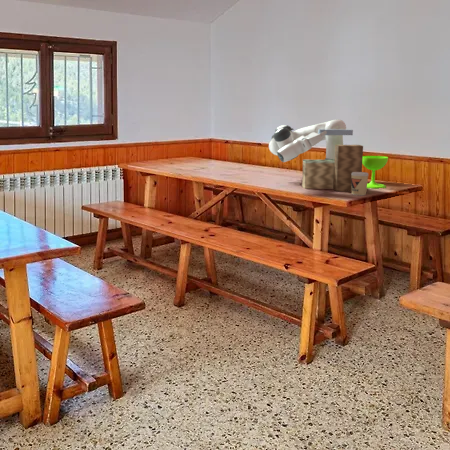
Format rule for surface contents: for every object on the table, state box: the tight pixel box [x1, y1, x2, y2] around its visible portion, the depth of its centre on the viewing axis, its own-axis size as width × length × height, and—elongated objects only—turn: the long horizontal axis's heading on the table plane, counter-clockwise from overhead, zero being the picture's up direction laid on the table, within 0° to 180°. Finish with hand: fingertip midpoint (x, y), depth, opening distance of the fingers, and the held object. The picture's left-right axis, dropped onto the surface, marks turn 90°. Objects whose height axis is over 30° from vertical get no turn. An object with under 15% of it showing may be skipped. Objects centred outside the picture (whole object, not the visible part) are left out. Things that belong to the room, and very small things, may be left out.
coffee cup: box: [351, 171, 369, 196], centre depth 334 cm, size 9×9×12 cm
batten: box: [318, 129, 354, 136], centre depth 343 cm, size 19×3×3 cm, turn 92°
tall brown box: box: [332, 144, 364, 192], centre depth 347 cm, size 14×9×26 cm, turn 92°
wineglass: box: [362, 155, 389, 190], centre depth 363 cm, size 16×16×18 cm
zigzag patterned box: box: [301, 159, 335, 190], centre depth 359 cm, size 24×10×16 cm, turn 92°
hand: (325, 131), depth 342 cm, fingers closed on batten, 3 cm apart
